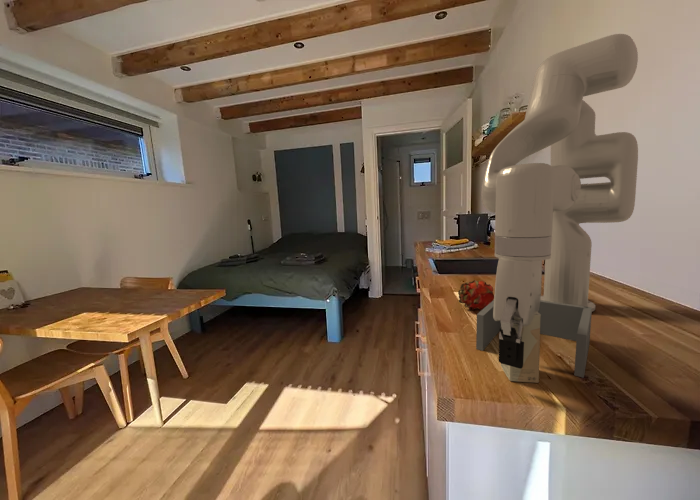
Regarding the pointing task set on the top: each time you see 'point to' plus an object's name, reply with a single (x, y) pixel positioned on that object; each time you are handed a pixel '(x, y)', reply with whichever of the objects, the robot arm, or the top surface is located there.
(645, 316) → the top surface
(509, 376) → the box
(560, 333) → the u-shaped wall
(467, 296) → the dragon fruit
